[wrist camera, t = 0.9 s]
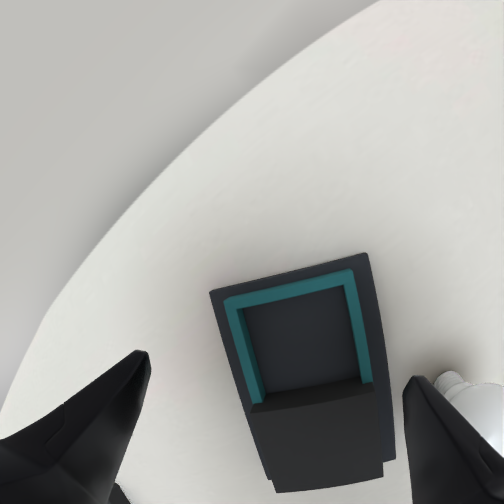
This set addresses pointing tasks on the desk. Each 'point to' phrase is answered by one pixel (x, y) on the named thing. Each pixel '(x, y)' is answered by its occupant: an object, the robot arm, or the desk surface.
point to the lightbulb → (477, 405)
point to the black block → (117, 496)
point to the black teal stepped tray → (311, 373)
